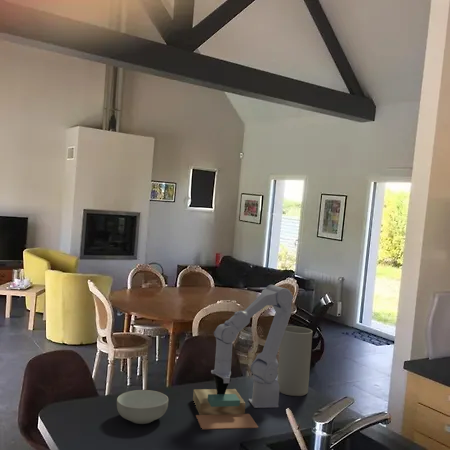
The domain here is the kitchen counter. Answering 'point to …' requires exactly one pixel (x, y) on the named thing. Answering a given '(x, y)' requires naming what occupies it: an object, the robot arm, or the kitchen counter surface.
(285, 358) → the cylinder vase
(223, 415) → the terracotta mat
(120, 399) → the cereal bowl
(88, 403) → the kitchen counter surface
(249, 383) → the kitchen counter surface
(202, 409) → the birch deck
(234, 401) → the teal rectangular block
